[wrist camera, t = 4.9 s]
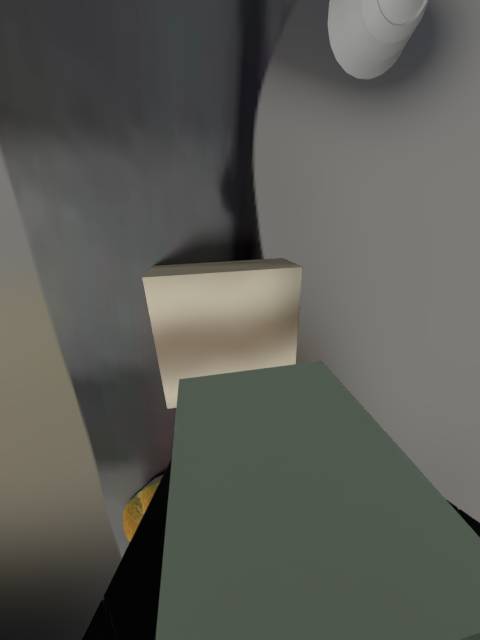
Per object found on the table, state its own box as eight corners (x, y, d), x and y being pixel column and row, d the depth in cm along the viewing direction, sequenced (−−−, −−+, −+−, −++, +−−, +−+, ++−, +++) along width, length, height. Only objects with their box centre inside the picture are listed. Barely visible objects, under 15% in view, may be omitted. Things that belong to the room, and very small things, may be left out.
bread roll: (112, 510, 24) (97, 561, 21) (168, 457, 23) (163, 502, 19) (176, 531, 28) (174, 578, 24) (229, 486, 26) (235, 528, 23)
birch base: (278, 364, 21) (293, 390, 18) (171, 377, 19) (167, 408, 16) (282, 258, 17) (302, 266, 14) (152, 265, 16) (142, 277, 13)
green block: (309, 456, 11) (432, 710, 5) (194, 478, 10) (196, 805, 4) (321, 360, 9) (543, 609, 3) (179, 379, 8) (145, 750, 2)
